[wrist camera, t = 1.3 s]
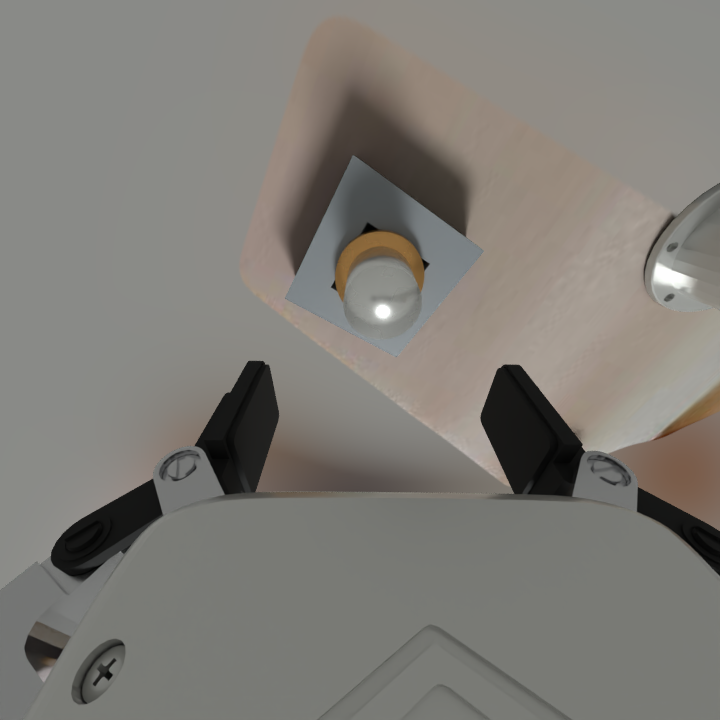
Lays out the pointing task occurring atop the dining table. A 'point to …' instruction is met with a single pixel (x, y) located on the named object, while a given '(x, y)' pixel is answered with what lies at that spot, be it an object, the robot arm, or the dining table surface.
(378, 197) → the housing
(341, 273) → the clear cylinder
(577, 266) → the dining table surface
